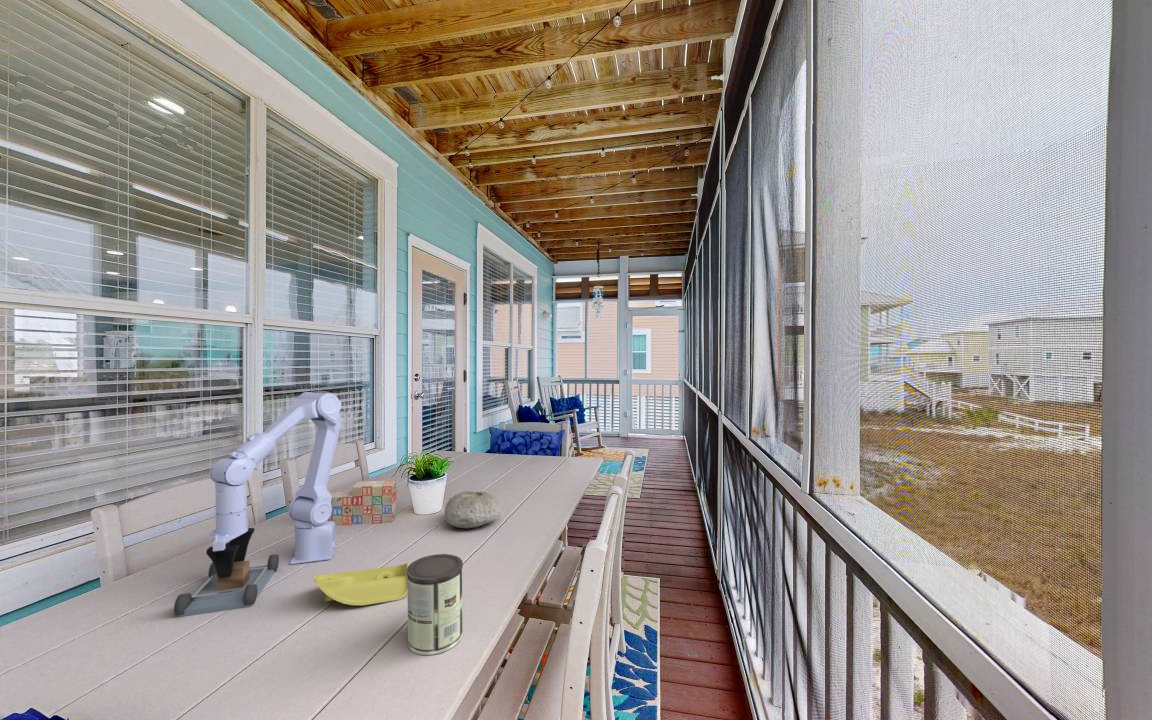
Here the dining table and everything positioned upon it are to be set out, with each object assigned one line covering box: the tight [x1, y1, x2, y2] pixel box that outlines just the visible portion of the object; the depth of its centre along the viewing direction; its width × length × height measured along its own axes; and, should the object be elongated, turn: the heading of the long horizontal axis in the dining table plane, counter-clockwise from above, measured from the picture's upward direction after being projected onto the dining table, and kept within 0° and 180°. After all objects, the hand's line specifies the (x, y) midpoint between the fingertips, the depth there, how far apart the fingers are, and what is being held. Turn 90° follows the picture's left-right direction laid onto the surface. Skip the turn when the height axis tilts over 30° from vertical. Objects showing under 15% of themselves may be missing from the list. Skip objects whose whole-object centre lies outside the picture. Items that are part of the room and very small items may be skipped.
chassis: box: [173, 553, 280, 618], centre depth 104 cm, size 13×20×4 cm
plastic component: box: [312, 562, 411, 606], centre depth 102 cm, size 20×7×10 cm
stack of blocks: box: [327, 480, 398, 526], centre depth 147 cm, size 21×6×12 cm, turn 98°
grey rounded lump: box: [443, 490, 502, 529], centre depth 145 cm, size 18×18×10 cm
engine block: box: [217, 559, 251, 591], centre depth 104 cm, size 5×4×4 cm
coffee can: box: [407, 553, 464, 656], centre depth 86 cm, size 10×10×14 cm
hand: (232, 569), depth 104 cm, fingers open, 7 cm apart
